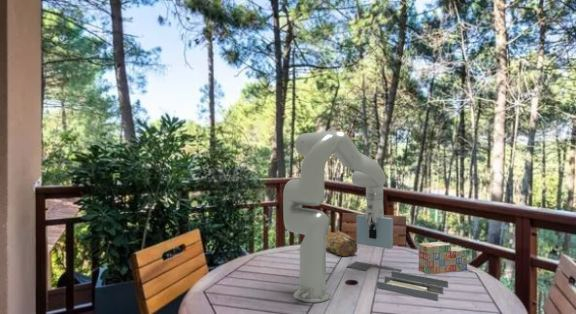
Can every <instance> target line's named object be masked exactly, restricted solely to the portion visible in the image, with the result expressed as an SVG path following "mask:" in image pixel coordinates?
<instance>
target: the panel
mask: <svg viewBox="0 0 576 314" xmlns="http://www.w3.org/2000/svg"><path fill="white" fill-rule="evenodd" d="M372 222H373V221H372ZM373 223H374V222H373ZM367 224H368V222H367V221H366V214H358V215H356V242H357V245H363V246H367V247H375V248H382V249H389V250H391V249H393V247H394V218H393V217H385V216H384V217H380V218H379V223H376V229H375V230H376V239H372V238H369V226H368V225H367ZM373 226H374V224H373Z"/></svg>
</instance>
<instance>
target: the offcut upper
mask: <svg viewBox="0 0 576 314" xmlns="http://www.w3.org/2000/svg"><path fill="white" fill-rule="evenodd" d="M387 284H392V285H397V286H402V287H406V288H411V289H416V290H421V291H426V292H428V291H427V288H426V287H421V286H416V285H411V284H406V283H401V282H396V281H389V282H388V283H387Z"/></svg>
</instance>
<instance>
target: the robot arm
mask: <svg viewBox="0 0 576 314" xmlns="http://www.w3.org/2000/svg"><path fill="white" fill-rule="evenodd" d="M294 146H295V150H296V151H297V153H299V155H301V156H305V157H304V158H303V160H302V163H301V166H300V178H292V179H290V180H288V181H287V182H286V183H285V184H284V185H285V186H284V189H283V194H282V200H283V201H282V203H283V204H282V205H283V207H282V208H283V209H282V211H283V217H282V218H283V225H284V227H285V228H286V230H287V231H289V232H290V233H294V234H298V235H299V234H300V235H302V236H303V235H304V237H303V239H302V241H301V243H300V245H299V286H298V289H296V291H295V292H293V298H294V299H297V300H299V301H302V302H305V303H322V302H326V301H327V300H329V299H330V297H331V294H330V292H329V291H328V290H327V289H326V287H327V285H326V284H327V283H326V280H327V275H326V274H327V269H326V267H327V260H326V259H327V247H326V238H327V234H328V231H329V226H330V220H329V217H328V215H327V213H325V212H323V211H322V210H318V209H313V208H305V207H304V208H303V206H307V207H308V206H310V207H317V206H320V205H322V204H323V203H324V200H325V168H326V165H327V161H328V160H329V158H330V157H331V156H332V155H333V154H334V155H335V157H336V158H337V159H338V160H339V161H340V163H341V164H342V166H344V167H345V168H348V169H350V170H352V171H354V172H353V173H352V175H351V181H352V183H353V184H354V186H357V187H361V188H365V200H366V207H365V208H366V209H365V215H366V221H367V222H368V224H367V225H368V226H369V238H372V239H376V230H375V229H376V223H379V218H380V217H385V215H384V186H385V184H386V180H387V179H386V174H385V171H384V170H383V169H382V166H380V164H379V163H378V162H377V161H375V160H374V159H373V158H371V157H369V156H367V155H366V154H364V153H361V152H360V151H359V149H358V148H357V147H356V145H355V144H354V142H353V141H352V139H351V138H350V136H348V134H347V133H346V131H345V132H344V130H343V131H341V130H325V131H317V132H307V133H301V134H299V135H298V136H297V137H296V140H295V144H294ZM372 221H373V222H374V223H373V222H372ZM373 224H374V226H373Z"/></svg>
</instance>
